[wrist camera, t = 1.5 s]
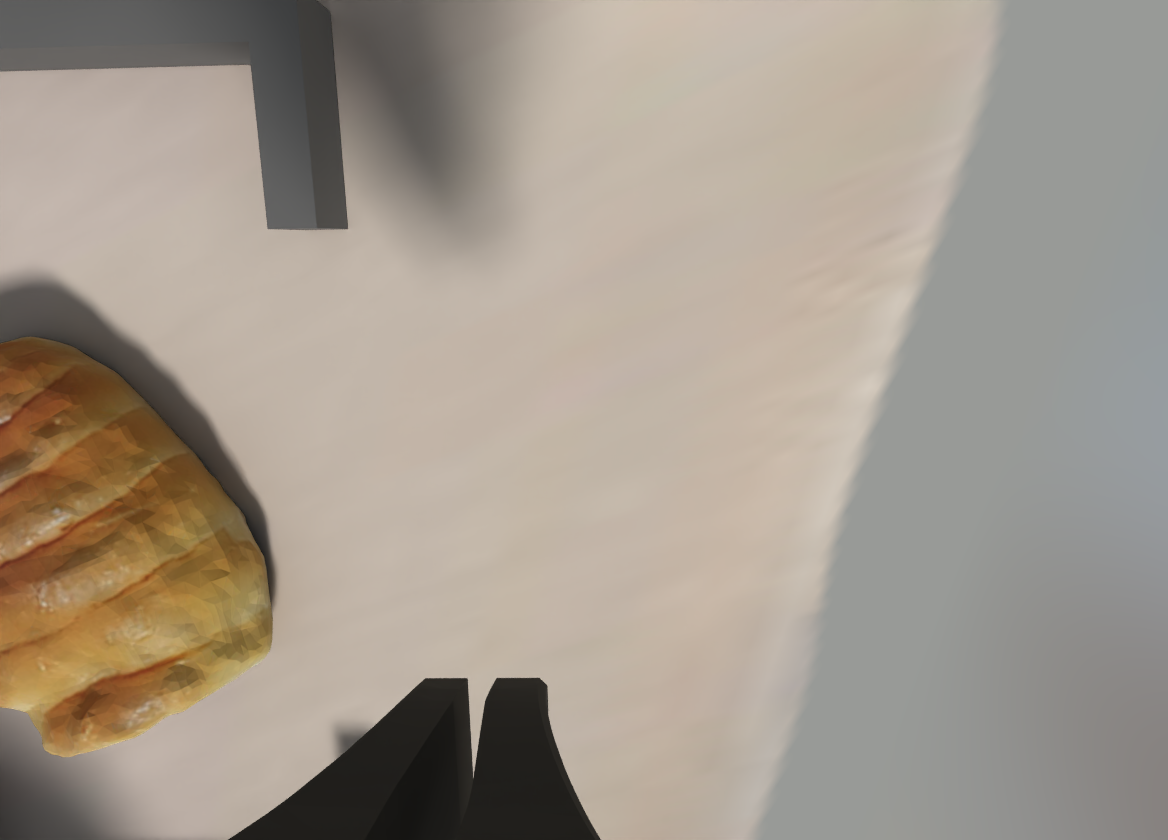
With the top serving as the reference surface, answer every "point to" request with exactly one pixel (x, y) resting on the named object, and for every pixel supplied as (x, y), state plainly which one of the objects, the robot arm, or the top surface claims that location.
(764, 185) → the top surface
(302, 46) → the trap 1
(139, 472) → the pastry
